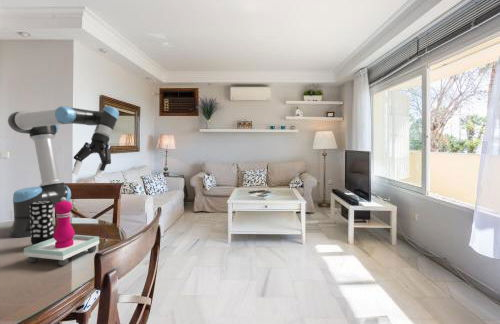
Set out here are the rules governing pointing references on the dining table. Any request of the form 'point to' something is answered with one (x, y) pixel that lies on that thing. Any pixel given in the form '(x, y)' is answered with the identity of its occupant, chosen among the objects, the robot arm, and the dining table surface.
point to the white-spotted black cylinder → (41, 221)
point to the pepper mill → (63, 225)
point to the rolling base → (61, 249)
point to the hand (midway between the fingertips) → (85, 175)
